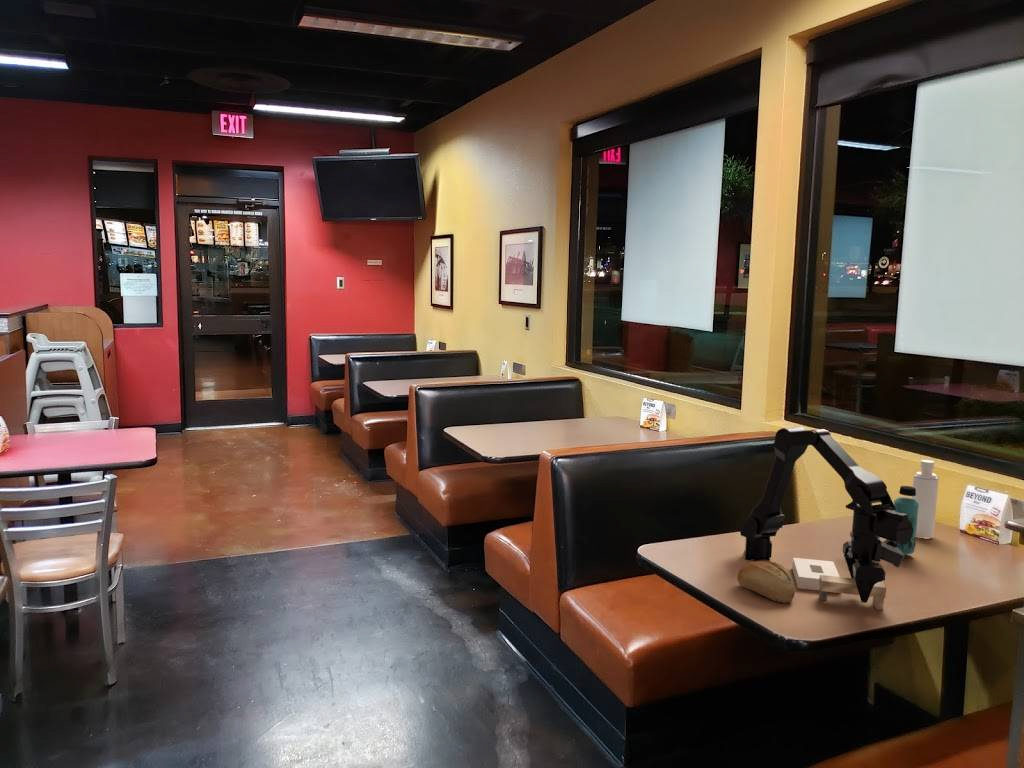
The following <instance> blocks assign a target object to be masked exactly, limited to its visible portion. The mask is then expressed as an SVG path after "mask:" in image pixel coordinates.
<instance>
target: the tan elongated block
mask: <svg viewBox="0 0 1024 768" xmlns="http://www.w3.org/2000/svg"><path fill="white" fill-rule="evenodd" d="M819 586H820V591H819V594H818V595H819V596H818V597H819V600H821V601H820V603H821V602H826V603H825V604H827V602H828V593H838V594H846V595H847V594H848V595H856V596H859V592H858V589H857V586H856V583H855V580H854V578H851V577H846V576H845V577H843V576H840V577H836V576H826V575H820V578H819ZM886 592H887V587H886V585H885V583H884V581H882V582H878V583H876V584H875V585H874V587H873V589H872V591H871V593H870V596H869V597H872V604H873V607H874V608H875V609H876V610H881V609H883V610H884V607H885V606H884V604H885V603H884V602H885V599H886V596H887V594H886Z"/></svg>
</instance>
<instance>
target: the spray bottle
mask: <svg viewBox="0 0 1024 768" xmlns="http://www.w3.org/2000/svg"><path fill="white" fill-rule="evenodd" d="M934 468H935V461H934V460H929V459H920V471H917V472H916V473H915V474H913V478H912V479H913V480H912V481H913V482H912V487H914V488H916V496H911V498H913V499H915V500H916V501H917V502H918V503H919V507H918V517H917V529H916V536H918V537H933V538H934V536H935V522H936V511H937V501H938V492H939V481H940V480H939V479H940V476H938V475H937V474H936V473H933V470H934Z"/></svg>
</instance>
